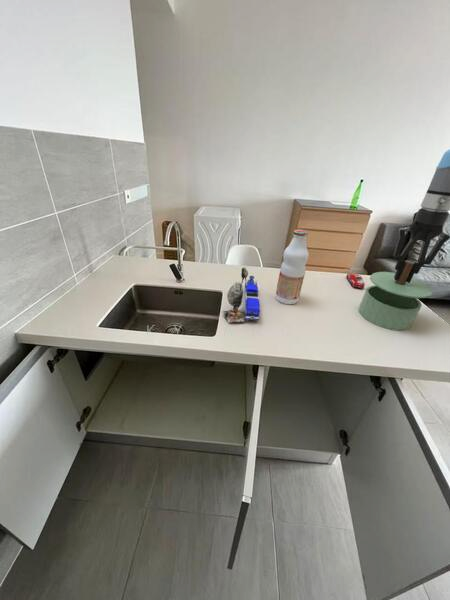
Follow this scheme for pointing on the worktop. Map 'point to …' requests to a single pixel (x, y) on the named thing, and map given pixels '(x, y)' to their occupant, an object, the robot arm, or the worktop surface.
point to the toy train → (251, 300)
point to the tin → (388, 309)
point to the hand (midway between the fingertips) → (401, 279)
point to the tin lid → (402, 283)
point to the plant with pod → (236, 300)
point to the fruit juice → (293, 269)
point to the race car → (355, 280)
